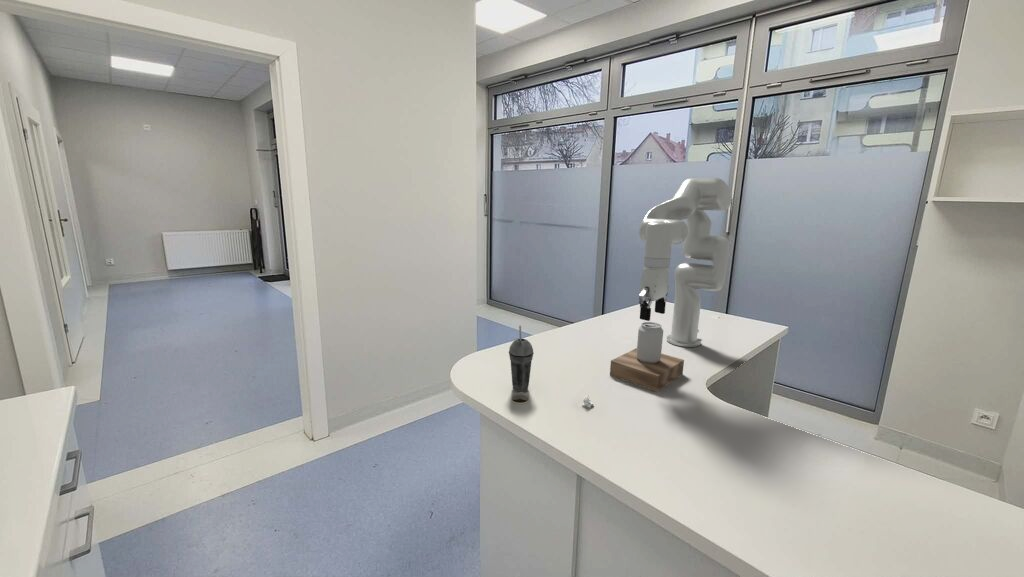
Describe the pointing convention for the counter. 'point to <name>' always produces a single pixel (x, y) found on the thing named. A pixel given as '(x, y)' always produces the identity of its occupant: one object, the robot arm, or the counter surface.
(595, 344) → the counter surface
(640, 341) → the can
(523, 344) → the beverage cup
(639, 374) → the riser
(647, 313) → the robot arm
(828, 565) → the counter surface
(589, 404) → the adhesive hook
